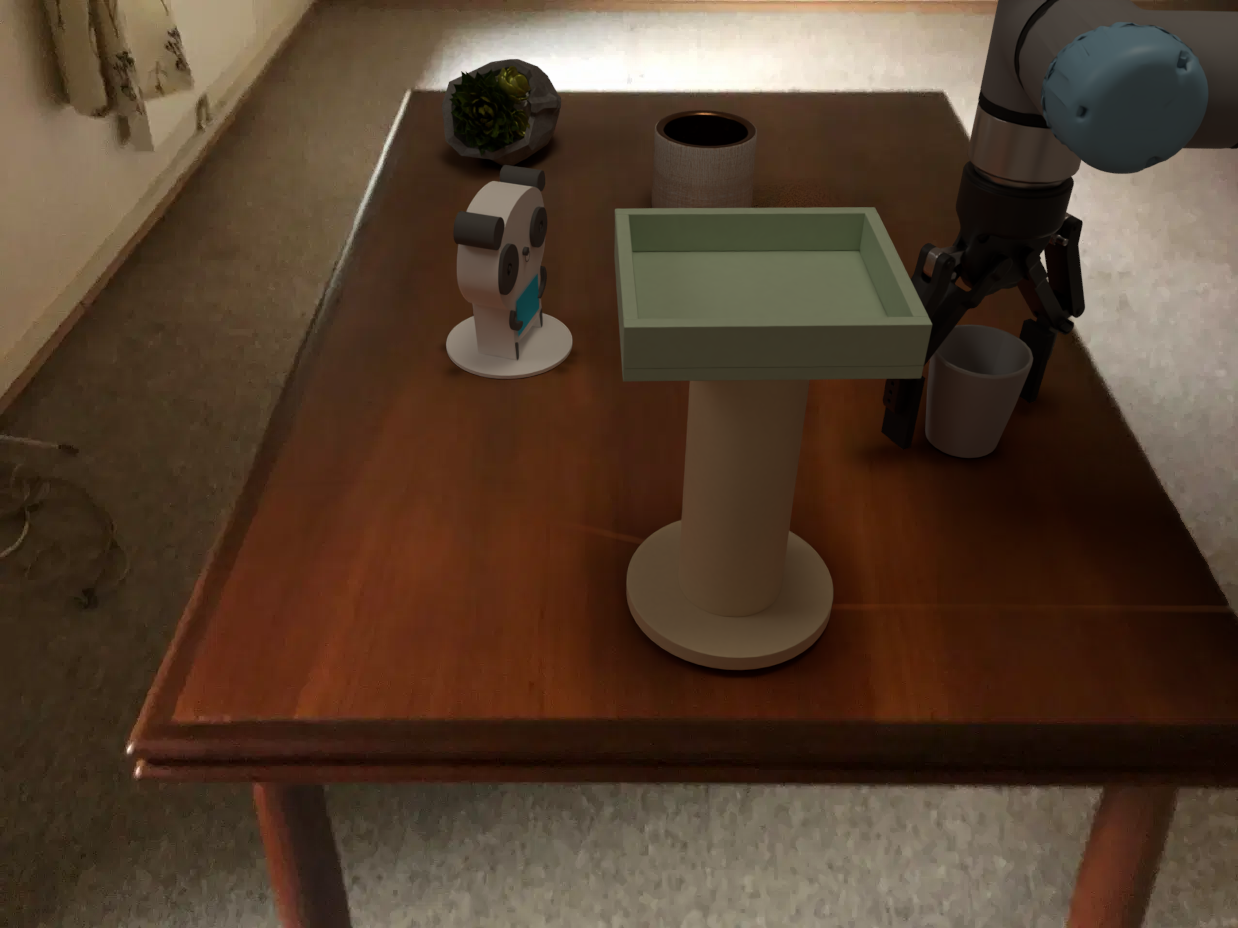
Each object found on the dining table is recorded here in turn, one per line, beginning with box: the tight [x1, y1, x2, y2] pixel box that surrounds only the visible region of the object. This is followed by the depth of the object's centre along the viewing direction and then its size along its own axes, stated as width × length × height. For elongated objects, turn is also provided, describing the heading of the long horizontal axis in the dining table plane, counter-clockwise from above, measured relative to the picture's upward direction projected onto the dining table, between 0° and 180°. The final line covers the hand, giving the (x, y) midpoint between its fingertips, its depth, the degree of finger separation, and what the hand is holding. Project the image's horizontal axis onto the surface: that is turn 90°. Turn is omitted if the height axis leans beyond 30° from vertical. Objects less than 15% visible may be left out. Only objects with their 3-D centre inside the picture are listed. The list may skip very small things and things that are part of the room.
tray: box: [613, 206, 932, 671], centre depth 70 cm, size 16×14×25 cm
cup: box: [924, 323, 1033, 459], centre depth 91 cm, size 8×10×8 cm
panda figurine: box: [445, 165, 573, 380], centre depth 98 cm, size 12×11×15 cm
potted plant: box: [441, 58, 562, 167], centre depth 132 cm, size 12×13×15 cm
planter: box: [650, 109, 758, 208], centre depth 122 cm, size 11×11×10 cm
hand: (959, 416), depth 93 cm, fingers open, 13 cm apart
